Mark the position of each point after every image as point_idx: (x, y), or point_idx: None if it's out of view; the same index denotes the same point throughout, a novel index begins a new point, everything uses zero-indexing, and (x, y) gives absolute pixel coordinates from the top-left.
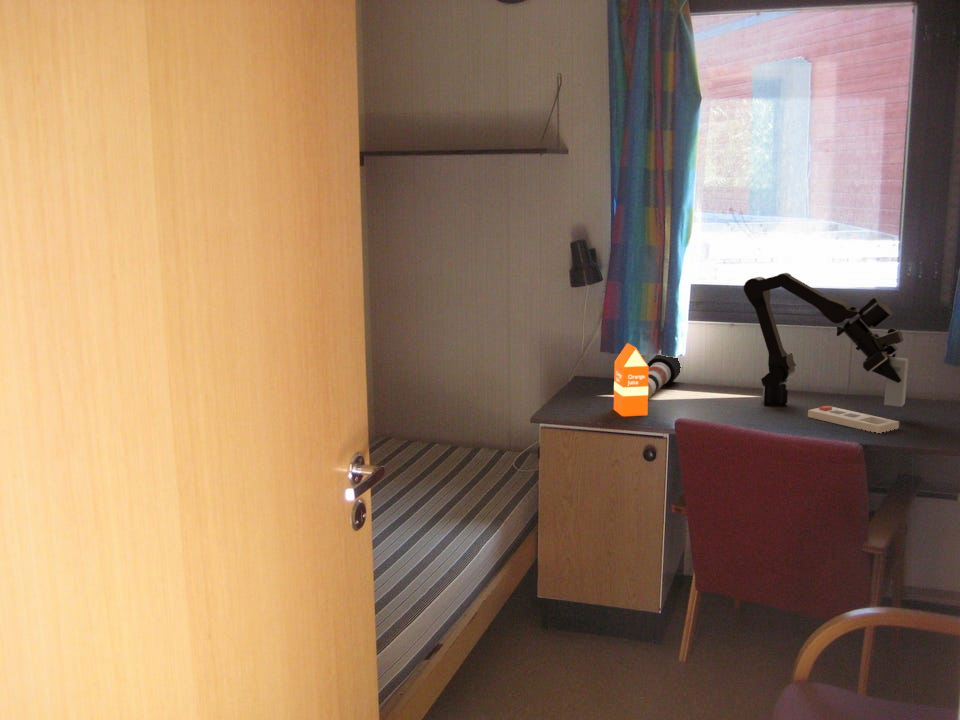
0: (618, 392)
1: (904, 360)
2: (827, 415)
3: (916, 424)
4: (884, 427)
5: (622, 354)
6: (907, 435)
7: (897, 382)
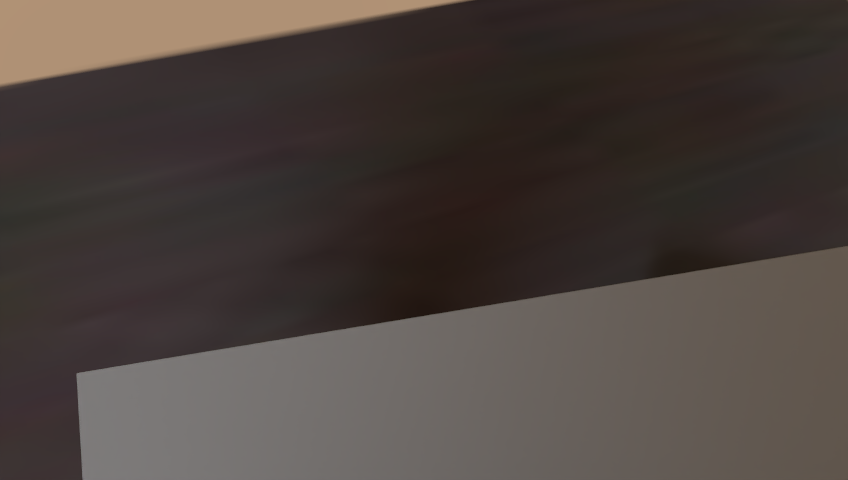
0: None
1: (830, 327)
2: None
3: (414, 244)
4: None
5: None
6: (755, 194)
7: None
